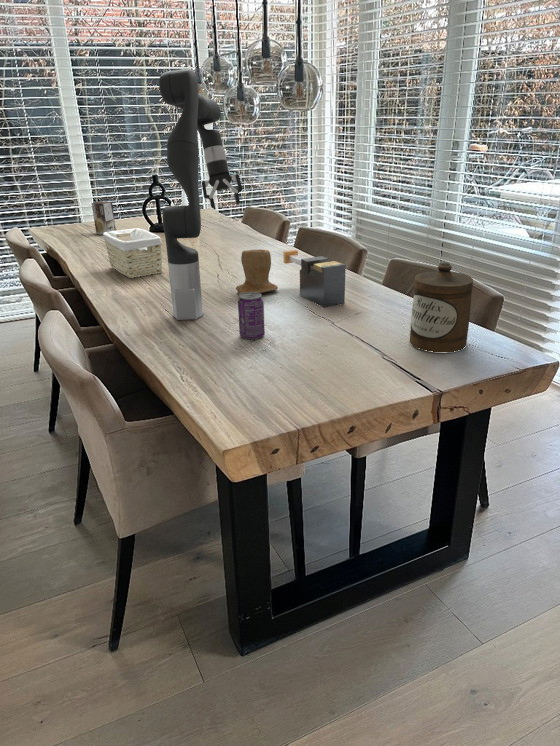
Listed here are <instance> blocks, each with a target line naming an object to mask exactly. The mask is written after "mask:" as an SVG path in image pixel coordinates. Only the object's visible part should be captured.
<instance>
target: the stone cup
mask: <svg viewBox="0 0 560 746" xmlns="http://www.w3.org/2000/svg"><path fill="white" fill-rule="evenodd" d="M240 256H241V257H240V261H241V265H242V268H243V273H244V279H245V280H244V282H243V283H242V284H240V285H237V286H235V287H236V288H235V290H236V292H237V293H238V295H240V294H242V293H247V292H256V293H260V294H263V293H269V292H271V291H275V290H276V291H277V290H278V289H279V288H278V286H277V285H276V284H274V283H272V282H270V280H269V279H270V278H269V277H270V276H269V275H270V271H271V267H272V255H271V251H270V250H268V249H261V248H260V249H247V250H242V252H241V255H240Z"/></svg>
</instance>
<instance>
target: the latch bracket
mask: <svg viewBox="0 0 560 746" xmlns="http://www.w3.org/2000/svg"><path fill="white" fill-rule="evenodd" d="M304 258H305V257H304ZM313 265H314V266H313ZM300 266H301V267H300V268H301V269H299V296H300V295H301V296H300V297H303V298H304V299H306V300H308V301H309V302H312V303H313V302H314V304H315V303H316V305H317V304H318V305H317V306H319V305H320V306H319V307H321V308H323V309H325V308H331V307H335V306H341V305H345V303H346V302H345V299H346V298H345V297H346V268H347V267H346V264H345V263H341V262H339V261H337V260H336V261H335V260H334V261H333V260H332V261H329V258H328V257H325V256H322V255H320V256H314V257H313V256H312V257H306V258H305V259H301V265H300ZM310 266H313V269H312V270H310ZM340 304H341V305H340Z"/></svg>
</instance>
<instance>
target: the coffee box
mask: <svg viewBox="0 0 560 746" xmlns="http://www.w3.org/2000/svg"><path fill="white" fill-rule="evenodd" d="M91 209H92V215H93V221H94V227H95V232H96V233H95V234H96V235H103V233H104V232H110V231H117V229H116V227H117V226H116V221H115V214H114V206H113V202H112V201H106V200H105V201H103V200H102V201H101V200H99V201H95V202H91ZM103 236H104V235H103Z"/></svg>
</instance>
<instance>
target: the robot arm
mask: <svg viewBox="0 0 560 746" xmlns="http://www.w3.org/2000/svg"><path fill="white" fill-rule="evenodd" d="M158 88H159V92H160V95H161V98H162V100H163V102H165V104H167V105H169V106H173V107H176V108H179V109H182V113H181V115H180V116H179V118H178V121H177V122H176V123H175V125H174V127H173V128H172V130H171V132H170V134H169V136H168V138H167V141H166V161H167V166H168V169H169V171H170V172H171V173H172V175H173V177H174V178H175V180H176V181H177V182H178V184H179V185H180V186H181V188H182V189H183V192H184V193H185V195H186V198H187V200H188V205H167V206H165V207H164V208H163V210H162V215H161V216H162V227H163V232H164V239H165V246H166V248H165V249H166V255H167V266H168V275H169V285H170V295H171V296H170V297H171V304H172V305H171V306H172V314H173V315H172V316H173V318H174V319H176V321H182V320H183V321H185V320H186V321H187V320H191V321H192V320H198V319H199V318H201V317H202V316H203V315H204V311H203V310H204V309H203V307H204V306H203V297H202V287H201V286H202V285H201V274H200V271H201V270H200V261H199V260H200V257H199V252H198V250H196V249H195V248H192V247H189V246H186V245H185V244H182V243H181V242H180V241H179V240H178V239H195V238H198V237H200V236H201V230H202V220H201V219H202V217H201V203H200V191H199V189H200V187H199V141H198V140H199V137H200V139H201V143H202V148H203V154H204V161H205V165H206V169H207V170H206V171H207V173H208V180H202V181H201V189H202V194H203V198H204V199H206V200H209V203H210V207H211V208H212V209H213V210H217V208H216V204H215V200H214V195H215V193H216V192H217V191H218V192H221V191H226V190H228V189H229V190H230V191H231V192H232V193H234V200H235V204H236V206H239V204H240V202H241V200H240V196H239V195H240V194H239V193H241V192H242V191H243V185H242V182H241V178H240V175H239V174H238V173H236V174H235V175H234V174H233V175H231V174H230V169H229V165H228V159H227V156H226V152H225V149H224V145H223V139H222V136H221V135H222V134H221V132H220V131H219V130H218V129H212V128H211V129H208V128H206V127H205V126H206V125H209V124H213V123H216V122H218V121H219V120H220V119H221V117H222V110H221V107H220V105H219V104H218V103H217V101H216V100H214V99H212V98H208V97H204V96H203V95H202V94H201V93H199V91H200V90H199V81H198V76H197V74H196V72H195V71H194V70H193V69H191V68H184V69H183V68H182V69H176V70H169V71H165V72H163V73H162V74H160V76H159V79H158ZM198 133H199V134H198ZM198 135H199V136H198ZM232 180H233V181H234V182H236V185H237V189H236V187H234V186H233V184H231V183H232ZM208 185H210V186H211V187H212V189H211V191H210V194H207V193H208V191H207V188H208V187H209V186H208Z"/></svg>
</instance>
